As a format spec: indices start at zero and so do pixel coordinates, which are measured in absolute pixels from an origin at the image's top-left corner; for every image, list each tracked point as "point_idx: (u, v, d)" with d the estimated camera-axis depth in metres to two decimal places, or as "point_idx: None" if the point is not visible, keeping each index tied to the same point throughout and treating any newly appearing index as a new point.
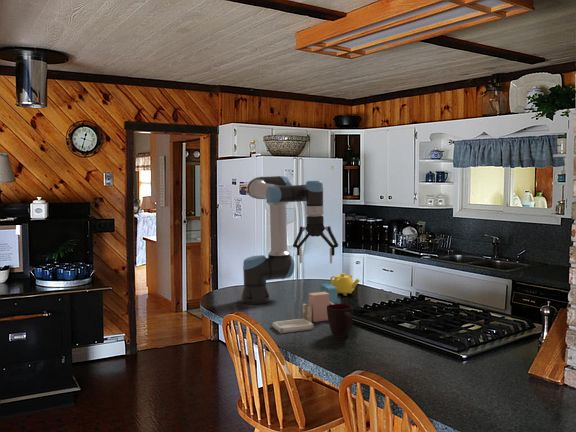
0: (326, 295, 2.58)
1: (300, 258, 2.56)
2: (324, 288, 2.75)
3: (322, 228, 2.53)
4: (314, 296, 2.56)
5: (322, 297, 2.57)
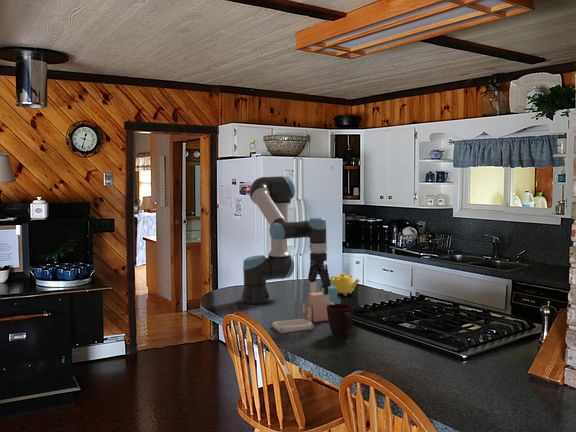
0: None
1: None
2: None
3: (319, 265, 2.55)
4: (314, 296, 2.56)
5: None
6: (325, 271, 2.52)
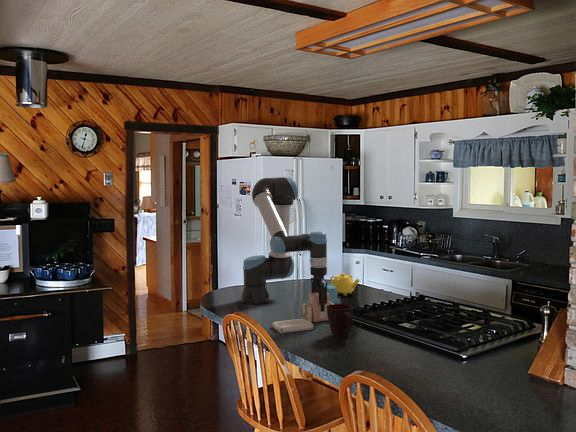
0: None
1: None
2: None
3: (319, 280, 2.55)
4: (314, 296, 2.56)
5: None
6: (324, 289, 2.54)
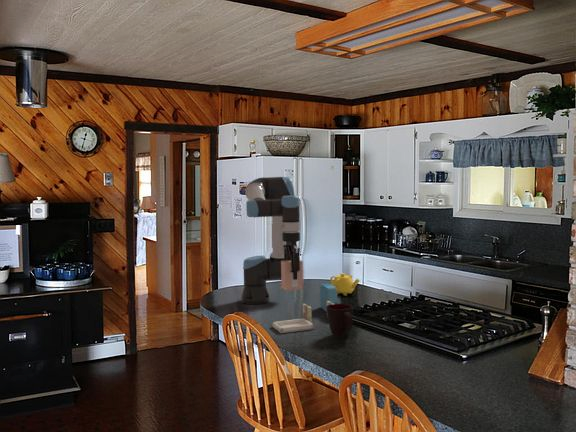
0: None
1: None
2: (324, 288, 2.75)
3: (291, 246, 2.41)
4: (286, 263, 2.42)
5: None
6: (296, 255, 2.39)
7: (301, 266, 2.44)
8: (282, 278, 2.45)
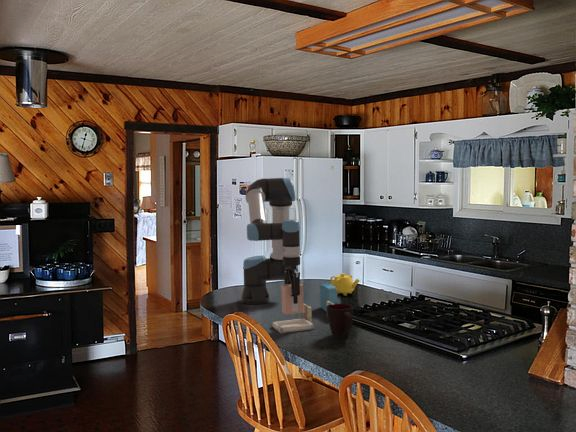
0: None
1: None
2: (324, 288, 2.75)
3: (292, 270, 2.42)
4: (286, 287, 2.42)
5: None
6: (297, 279, 2.40)
7: (301, 290, 2.45)
8: (282, 302, 2.46)
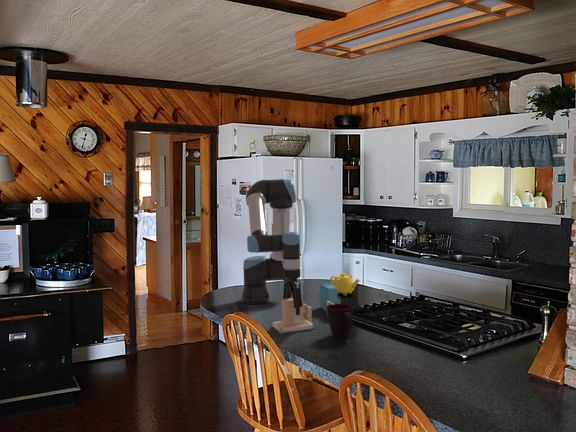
0: None
1: None
2: (324, 288, 2.75)
3: (292, 283, 2.42)
4: (287, 302, 2.43)
5: None
6: (298, 290, 2.40)
7: None
8: (283, 316, 2.47)
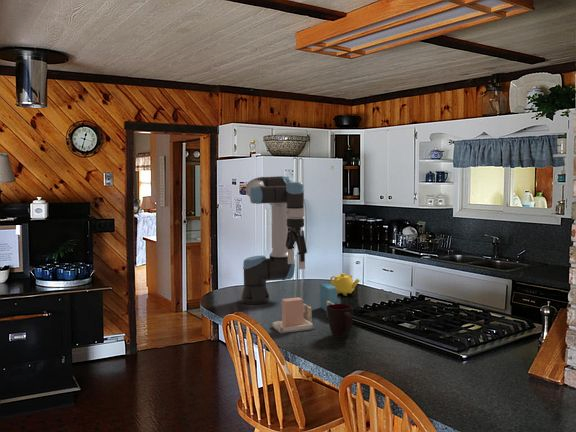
0: (300, 301, 2.45)
1: (288, 259, 2.55)
2: (324, 288, 2.75)
3: (296, 232, 2.44)
4: (287, 302, 2.43)
5: (295, 303, 2.44)
6: (301, 237, 2.41)
7: (301, 305, 2.45)
8: (283, 316, 2.47)
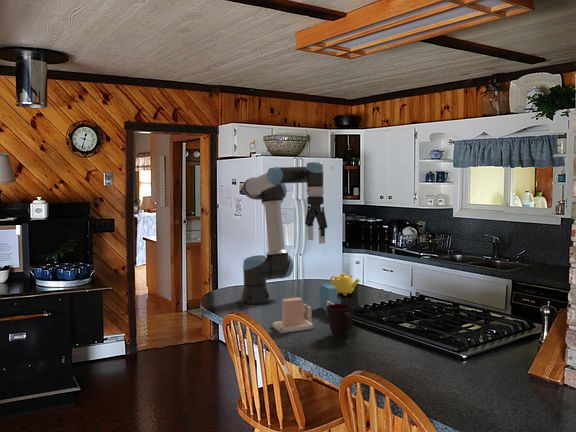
0: (300, 301, 2.45)
1: (307, 235, 2.70)
2: (324, 288, 2.75)
3: (316, 208, 2.60)
4: (287, 302, 2.43)
5: (295, 303, 2.44)
6: (322, 213, 2.57)
7: (301, 305, 2.45)
8: (283, 316, 2.47)
